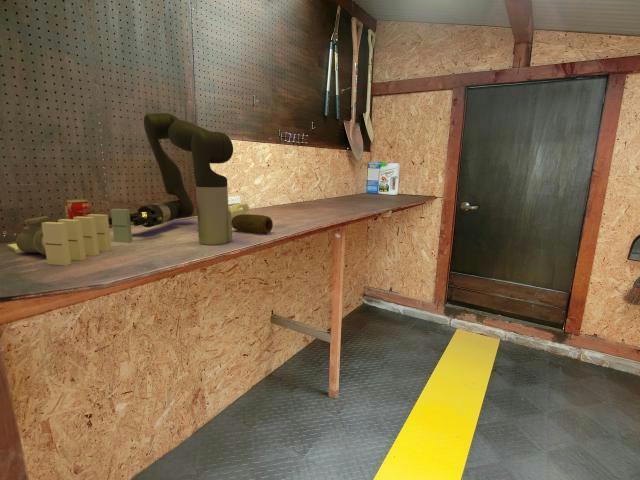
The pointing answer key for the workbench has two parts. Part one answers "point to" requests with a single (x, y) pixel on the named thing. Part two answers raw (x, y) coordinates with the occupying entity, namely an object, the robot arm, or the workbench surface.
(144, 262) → the workbench surface
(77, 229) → the domino
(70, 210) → the soda can
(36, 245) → the pipe fitting
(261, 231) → the portable bluetooth speaker
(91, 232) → the domino
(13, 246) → the external hard drive
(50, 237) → the domino
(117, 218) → the domino
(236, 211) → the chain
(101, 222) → the domino
